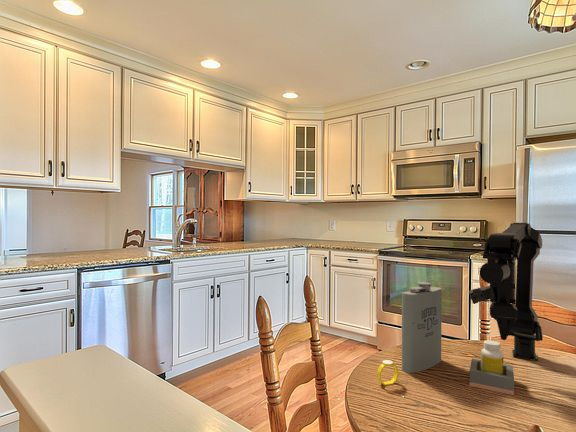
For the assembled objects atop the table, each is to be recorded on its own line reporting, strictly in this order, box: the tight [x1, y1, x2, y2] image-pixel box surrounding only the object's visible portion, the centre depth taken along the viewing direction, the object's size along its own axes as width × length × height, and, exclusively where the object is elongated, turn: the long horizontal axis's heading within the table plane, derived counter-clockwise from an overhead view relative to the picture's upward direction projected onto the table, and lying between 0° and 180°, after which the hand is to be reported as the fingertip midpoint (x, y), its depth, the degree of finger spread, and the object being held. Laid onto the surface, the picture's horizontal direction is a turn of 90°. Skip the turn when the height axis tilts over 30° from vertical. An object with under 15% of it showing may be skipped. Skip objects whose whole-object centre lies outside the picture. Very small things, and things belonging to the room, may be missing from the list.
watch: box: [376, 359, 399, 386], centre depth 97 cm, size 6×3×6 cm, turn 111°
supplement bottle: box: [480, 339, 504, 375], centre depth 99 cm, size 5×5×10 cm
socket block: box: [469, 357, 515, 396], centre depth 98 cm, size 10×10×4 cm
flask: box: [400, 281, 443, 374], centre depth 110 cm, size 17×5×25 cm, turn 128°
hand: (503, 334), depth 102 cm, fingers open, 9 cm apart
